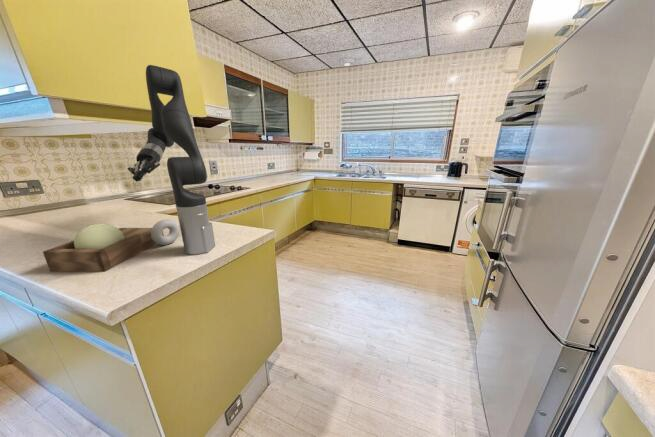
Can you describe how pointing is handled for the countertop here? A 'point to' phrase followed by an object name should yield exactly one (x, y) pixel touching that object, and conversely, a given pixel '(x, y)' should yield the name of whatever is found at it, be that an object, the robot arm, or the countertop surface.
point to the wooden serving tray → (99, 252)
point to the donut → (159, 227)
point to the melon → (97, 236)
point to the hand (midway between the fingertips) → (136, 179)
